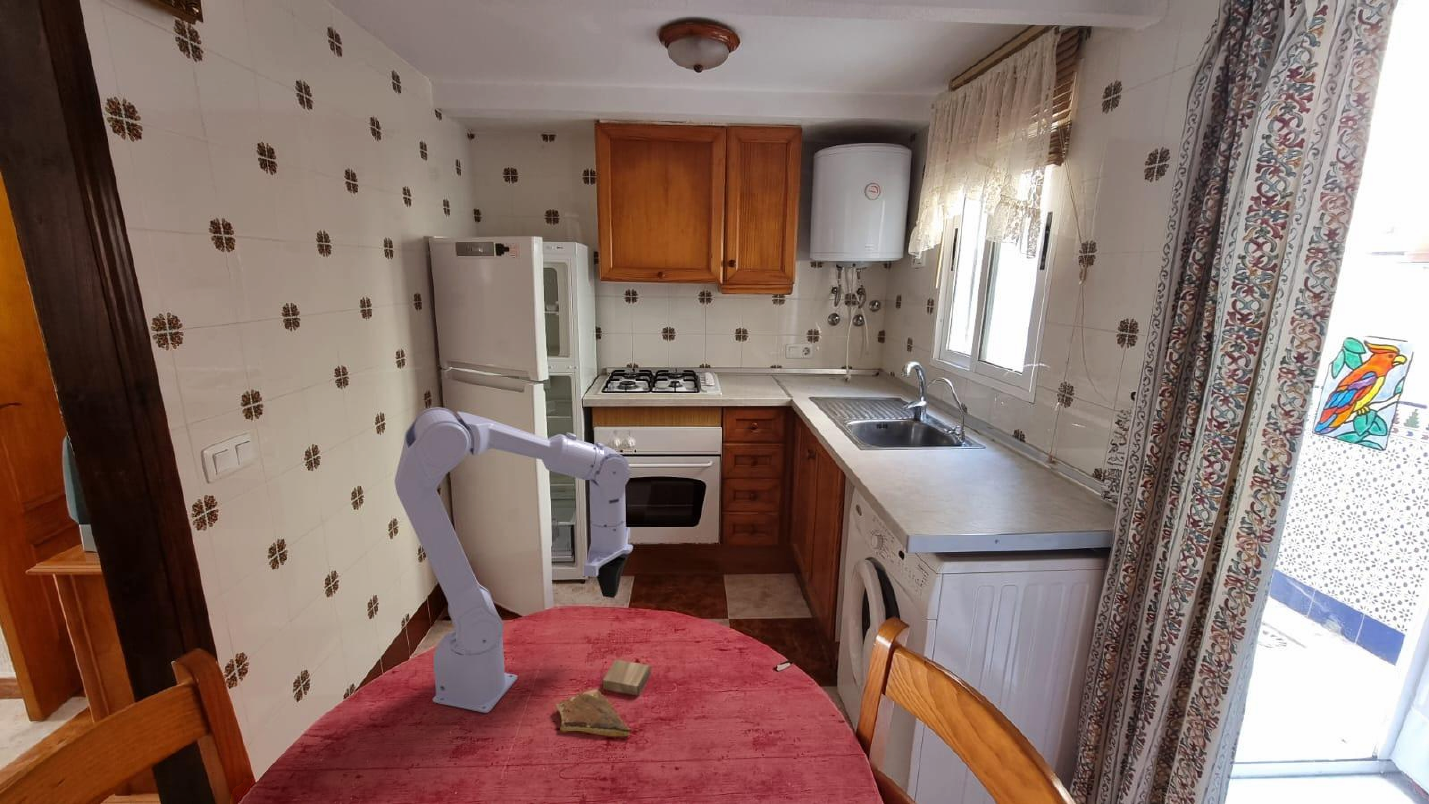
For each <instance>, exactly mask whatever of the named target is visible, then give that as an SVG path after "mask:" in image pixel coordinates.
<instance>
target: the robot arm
mask: <svg viewBox="0 0 1429 804" xmlns="http://www.w3.org/2000/svg"><path fill="white" fill-rule="evenodd" d="M456 413H457V414H458V416H459V417H460V418H459V417H458V416H457V415H456V414H455V413H454V412H453V411H451V410H450V409H448V408H444V407H439V406H438V407H437V406H436V407H430V408H428V409H426V410H423V411H421V413H419V414H418V415H417V417H415V419H414V420H413V421H412V423H411V424H410V425H409V427H408V428H407V430H406V431H405V433H404V438H403V439H404V441H403V446H402V450H401V454H400V457H399V462H398V464H397V469H396V473H395V477H394V487H395V489H396V491H395V492H396V494H397V496H398V498H399V500H400V503H401V505H402V507H403V509H404V511H405V513H406V515H407V517H408V520H409V521H410V524H411V526H412V528H413V530H414V532H415V535H416V536H417V539H418V542H419V544H420V545H421V548H422V549H423V551H424V554H425V555H426V558H427V559H428V562H429V565H430V566H431V569H432V571H433V573H434V575H435V577H436V579H437V582H438V583H439V586H440V587H441V590H442V592H443V594H444V597H445V598H446V601H447V603H448V606H447V612H448V615H449V617H450V619H451V622H452V625H453V631H449V632H447V633H446V634H445V635H444V636H442V638H441V639H440V640H439V642H438V644H437V645H436V647H435V649H434V654H433V663H432V665H433V672H434V673H433V674H434V684H435V696H434V697H433V698H432V702H433V703H436V704H441V705H445V706H451V707H456V708H460V709H465V710H471V711H475V712H480V713H485V714H486V713H490V711H492V710H493V708H494V707H495V706H496V704H497V703H498V702H499V701H500V700H501V699H502V697H503V696H504V695H505V694H506V692H508V690H509V689H510V688H511V687H512V686H513V684H514V683H515V682H516V681H517V679H518V675H517V674H512V673H508V672H505V671H506V670H505V657H504V643H503V633H504V622H503V620H502V618H501V616H500V615H499V613H498V611H497V609H496V606H495V604H494V602H493V599H492V598H493V597H492V594H491V592H490V591H489V589H487V588H486V587H484V586H482V584H480V583H479V581H478V580H477V578H476V575H475V573H474V572H473V569H472V567H471V565H470V562H469V560H468V558H467V556H466V554H465V551H464V549H463V546H462V544H461V542H460V539H459V538H458V535H457V533H456V531H455V529H454V526H453V524H452V522H451V520H450V518H449V515H448V512H447V511H446V507H445V506H444V504H443V502H442V499H441V497H440V495H439V492H438V490H437V489H438V488H439V486H440V484H441V483H442V482H443V479H444V478H445V476H446V475H447V474H448V473H449V472H451V470H453V469H454V468H455V467H457V465H459V464H460V463H461V462H462V461H464V459H466V457H467V455H468V454H469V452H470V453H471V455H472V456H473V457H477V456H479V455H481V454H483V453H485V452H487V451H489V450H491V449H492V450H493V449H494V450H498V451H503V452H507V453H512V454H516V455H520V456H525V457H528V458H533V459H538V460H541V461H542V463H543V465H544V468H545V469H546V470H547V471H550V472H553V473H557V474H561V475H565V476H569V477H572V478H577V479H580V480H584V481H588V480H589V514H590V515H589V516H590V517H589V520H590V521H589V522H590V544H589V549H588V553H587V558H586V562H585V563H584V564H583V576H585V577H589V578H590V577H591V578H596V580H597V582H598V585H599V589H600V591H601V596H602V597H604V598H612V599H614V598H615V597H616V596H617V594H618V591H619V586H620V581H621V578H622V573H623V570H624V567H625V565H626V563H627V561H628V558H629V557H630V553H632V551H633V549H634V546H633V545H632V544H630V543H629V539H631V527H627V523H626V519H627V518H626V516H627V514H626V485H627V484H628V482H629V480H630V478H631V475H632V468H630V466H629V462H628V460H627V459H626V457H624V456H623V455H622V454H620V453H619V452H618V451H616V450H614V449H613V448H611V447H609V446H607V445H605V444H603V443H600V442H595V444H593V443H590V442H587V441H583V440H582V439H581V440H580V439H578V436H577V435H575V434H574V433H571V432H568V431H567V432H566V434H565V435H564V434H561V433H558V434H556V435H553V436H550V437H548V438H547V437H546V438H545V437H542V436H539V435H537V434H534V433H531V432H528V431H525V430H522V429H518V428H516V427H513V426H509V425H507V424H504V423H501V422H498V421H496V420H493V419H490V418H487V417H482V416H479V415H475V414H472V413H468V412H463V411H456Z"/></svg>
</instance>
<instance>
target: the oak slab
mask: <svg viewBox="0 0 1429 804" xmlns="http://www.w3.org/2000/svg"><path fill="white" fill-rule="evenodd" d="M651 670H652V669H651V665H649V664H643V663H638V662H631V661H627V660H620V659H615V660H614V662H613V663H612V665H611V666H610V668H609V669H608V671H607V672H606V674H605V675H604V677H603V679H602V689H603V690H607V691H612V692H617V693H623V694H628V695H632V696H637V697H639V696H641V693H642V692H643V690H644V688H645V686H646V685H647V682H648V680H649V678H650V676H651Z"/></svg>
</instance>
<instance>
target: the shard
mask: <svg viewBox="0 0 1429 804" xmlns="http://www.w3.org/2000/svg"><path fill="white" fill-rule="evenodd" d="M555 706H556V708H557V710H558V712H559V714H560V717H561V725H560V731H561V732H564V733H565V732H577V731H578V732H583V733H588V734H592V735H593V734H594V735H599V736H600V735H601V736H608V737H629V736H630V734H631V733H632V730H631V729H630V728H629V726H627V724H626V723H625V722H624V721H623V719H621V717H620V716H619V714H618V712H617V710H616V709H615V708H614V707H613V705H612V703H610V701H609V700H608V698H606V697H605V695H603V694H602V693H601V691H600V690H599V689H593V690H592V689H591V690H587V691H586V690H585V691H583V692H581V693H578V694H576V695H574V696H572V697H570V698H567V699H564V700H562V701H560V702H558V703H557V704H556V705H555Z"/></svg>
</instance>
